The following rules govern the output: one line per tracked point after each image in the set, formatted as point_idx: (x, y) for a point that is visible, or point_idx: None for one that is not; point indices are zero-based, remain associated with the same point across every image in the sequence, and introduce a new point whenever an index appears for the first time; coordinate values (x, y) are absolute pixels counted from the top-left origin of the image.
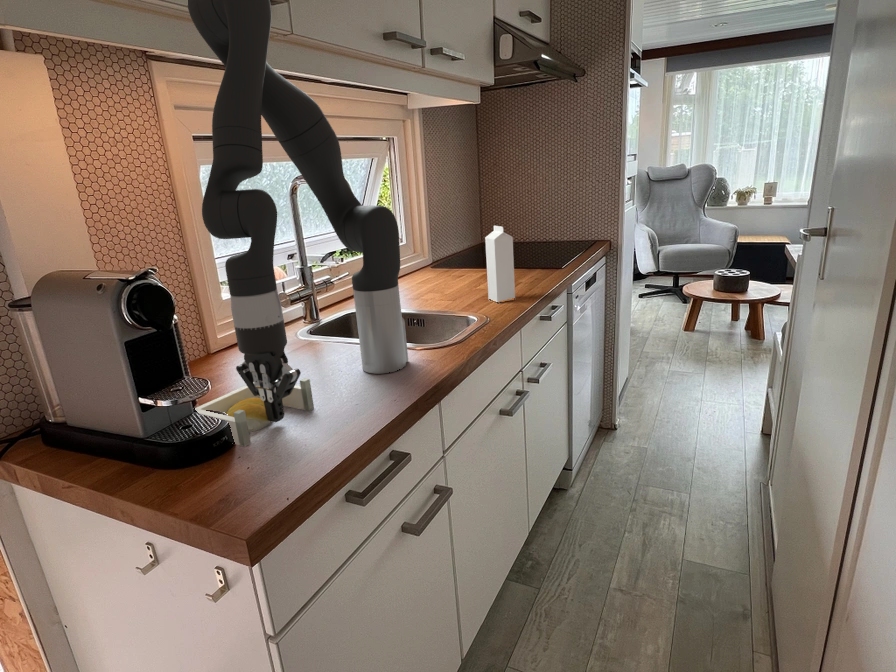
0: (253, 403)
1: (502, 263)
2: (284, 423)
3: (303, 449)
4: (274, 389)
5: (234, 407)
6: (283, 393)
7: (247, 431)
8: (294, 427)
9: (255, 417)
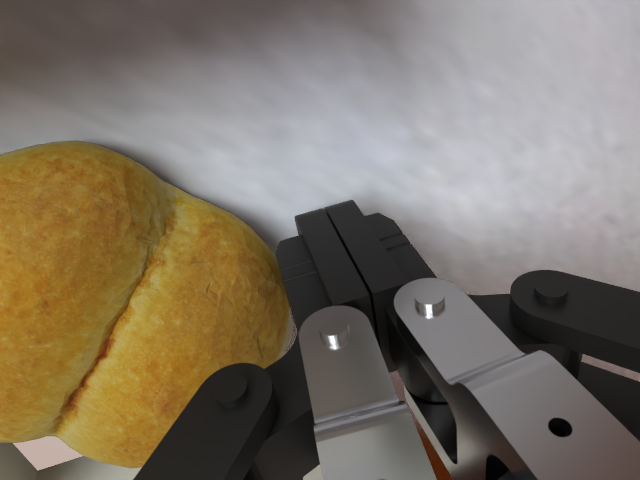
0: (95, 347)
1: None
2: (324, 173)
3: (623, 243)
4: (379, 358)
5: (23, 432)
6: (628, 385)
7: None
8: (427, 162)
9: (277, 357)
